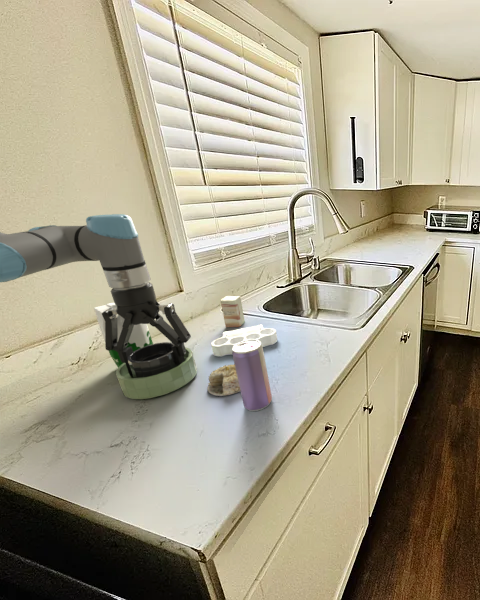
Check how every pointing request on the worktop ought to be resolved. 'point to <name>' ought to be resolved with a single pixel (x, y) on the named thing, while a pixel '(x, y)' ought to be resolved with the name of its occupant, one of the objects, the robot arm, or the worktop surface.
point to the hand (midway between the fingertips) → (158, 369)
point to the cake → (224, 381)
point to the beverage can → (252, 374)
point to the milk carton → (138, 336)
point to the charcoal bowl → (152, 360)
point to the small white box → (232, 311)
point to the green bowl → (157, 379)
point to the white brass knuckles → (243, 339)
